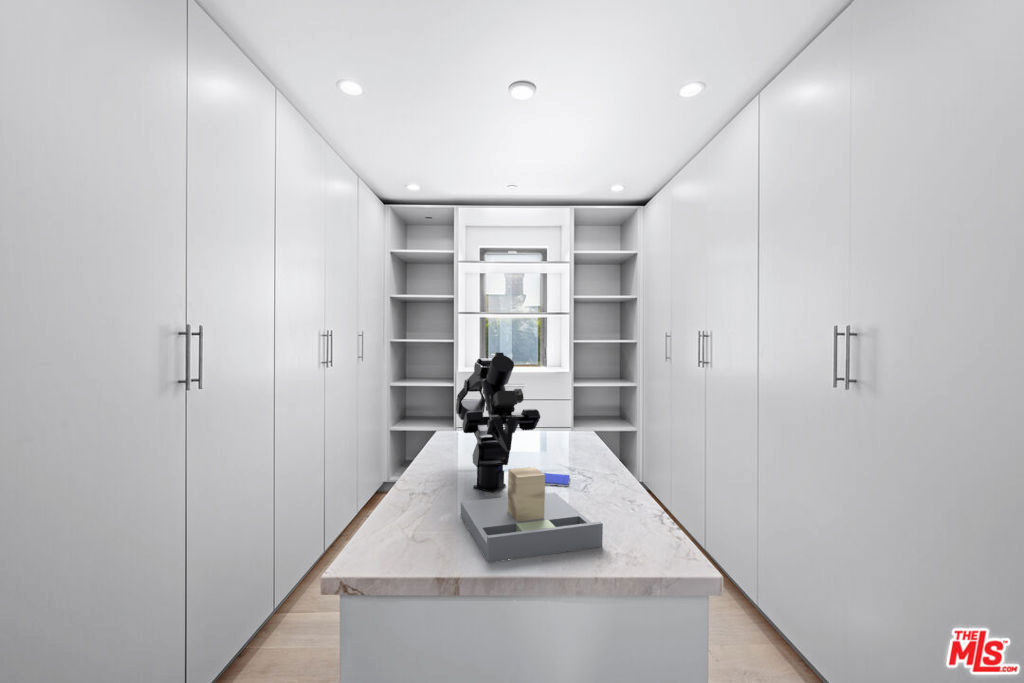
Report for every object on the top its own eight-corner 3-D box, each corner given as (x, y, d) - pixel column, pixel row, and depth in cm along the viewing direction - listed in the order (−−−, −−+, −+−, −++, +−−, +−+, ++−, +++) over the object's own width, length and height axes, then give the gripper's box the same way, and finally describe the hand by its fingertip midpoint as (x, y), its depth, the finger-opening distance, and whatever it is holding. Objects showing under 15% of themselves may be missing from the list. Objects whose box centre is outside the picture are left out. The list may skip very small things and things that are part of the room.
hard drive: (522, 479, 128) (568, 483, 126) (527, 471, 136) (569, 474, 134) (522, 485, 128) (568, 489, 126) (526, 476, 136) (569, 479, 134)
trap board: (460, 514, 105) (460, 495, 105) (554, 504, 112) (554, 486, 112) (488, 562, 83) (488, 537, 83) (602, 546, 90) (602, 523, 90)
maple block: (507, 510, 100) (508, 468, 100) (533, 507, 102) (534, 466, 102) (516, 521, 94) (517, 477, 94) (544, 518, 96) (545, 474, 96)
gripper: (466, 377, 111) (476, 433, 101) (538, 377, 117) (555, 429, 107) (458, 405, 119) (467, 460, 108) (526, 403, 125) (541, 455, 114)
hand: (508, 450), depth 109 cm, fingers closed
